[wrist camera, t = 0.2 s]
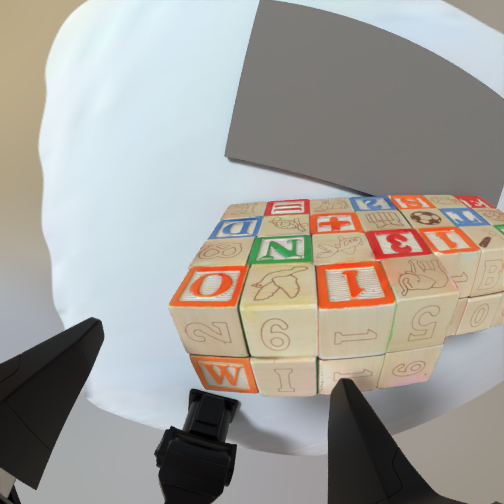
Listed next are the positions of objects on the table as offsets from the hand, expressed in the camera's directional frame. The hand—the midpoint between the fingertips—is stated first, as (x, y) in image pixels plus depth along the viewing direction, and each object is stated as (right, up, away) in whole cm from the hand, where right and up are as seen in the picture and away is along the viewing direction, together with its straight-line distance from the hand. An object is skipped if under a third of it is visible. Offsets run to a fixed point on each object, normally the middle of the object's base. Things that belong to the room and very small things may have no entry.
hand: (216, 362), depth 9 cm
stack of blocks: (+10, +6, +12) cm, 17 cm away
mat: (+12, +14, +8) cm, 20 cm away
